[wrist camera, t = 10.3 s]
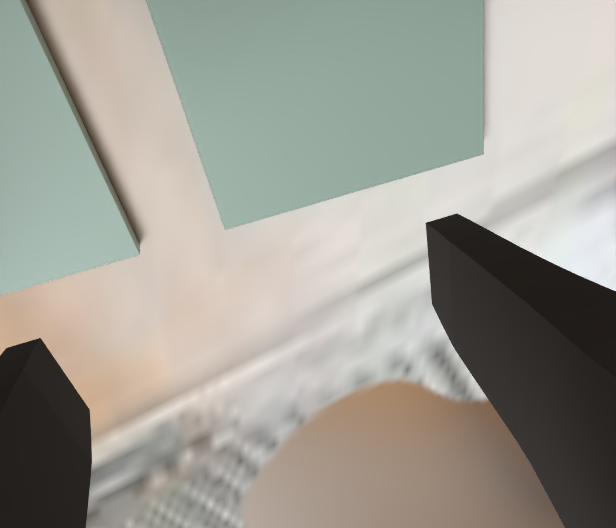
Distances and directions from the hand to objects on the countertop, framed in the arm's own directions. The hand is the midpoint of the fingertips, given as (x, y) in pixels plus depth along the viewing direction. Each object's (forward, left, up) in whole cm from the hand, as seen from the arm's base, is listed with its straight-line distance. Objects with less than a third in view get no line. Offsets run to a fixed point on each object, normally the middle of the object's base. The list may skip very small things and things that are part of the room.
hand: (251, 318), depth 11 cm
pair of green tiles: (-2, +1, -9) cm, 10 cm away
